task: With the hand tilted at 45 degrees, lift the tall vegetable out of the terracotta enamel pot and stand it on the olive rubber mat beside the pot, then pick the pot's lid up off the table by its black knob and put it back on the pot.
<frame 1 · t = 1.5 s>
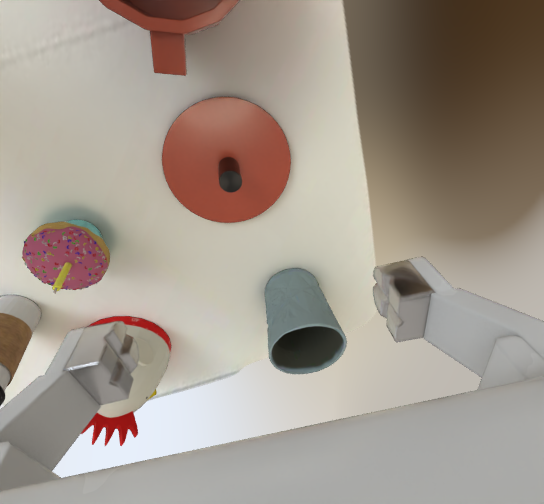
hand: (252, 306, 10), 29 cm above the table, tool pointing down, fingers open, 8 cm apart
cupcake: (82, 236, 39), on the table
coffee cup: (17, 309, 44), on the table
pot lid: (228, 165, 36), point 1 cm above the table
blue-grey cup: (289, 289, 50), on the table
kitchen timer: (127, 345, 51), on the table
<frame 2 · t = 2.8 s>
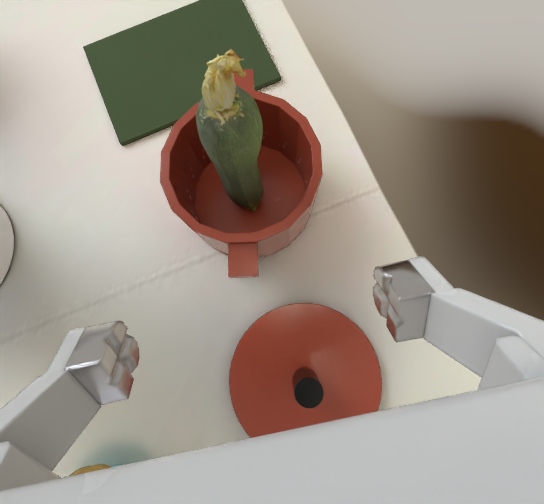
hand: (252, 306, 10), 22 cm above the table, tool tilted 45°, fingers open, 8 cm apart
mat: (181, 65, 37), on the table
vegetable: (250, 196, 34), resting on pot
pot lid: (304, 378, 30), point 1 cm above the table
pot: (250, 197, 34), on the table
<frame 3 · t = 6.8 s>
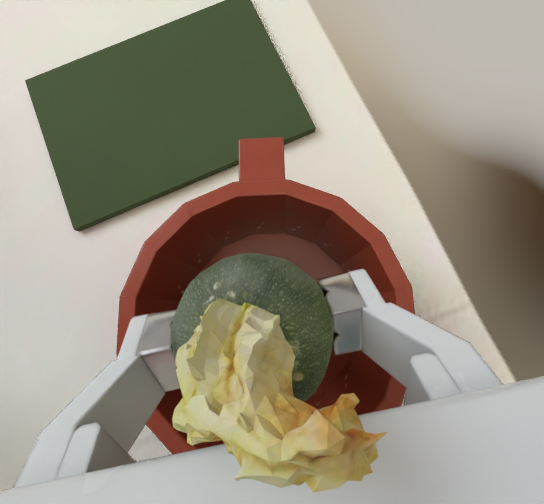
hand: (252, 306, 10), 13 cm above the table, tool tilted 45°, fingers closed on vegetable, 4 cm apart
mat: (168, 107, 26), on the table
vegetable: (271, 315, 22), resting on pot, touching gripper
pot: (271, 315, 22), on the table
when the fingers open (13 cm above the table, at t = 16.7 s): vegetable stays where it is, resting on mat.
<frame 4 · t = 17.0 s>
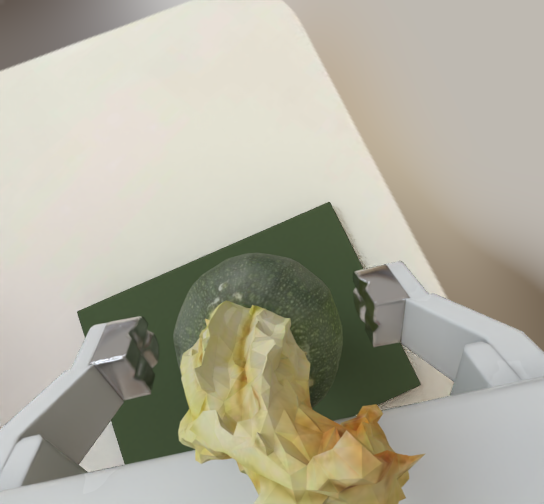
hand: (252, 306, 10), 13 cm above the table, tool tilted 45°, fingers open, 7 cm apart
mat: (243, 345, 22), on the table
vegetable: (273, 316, 22), resting on mat
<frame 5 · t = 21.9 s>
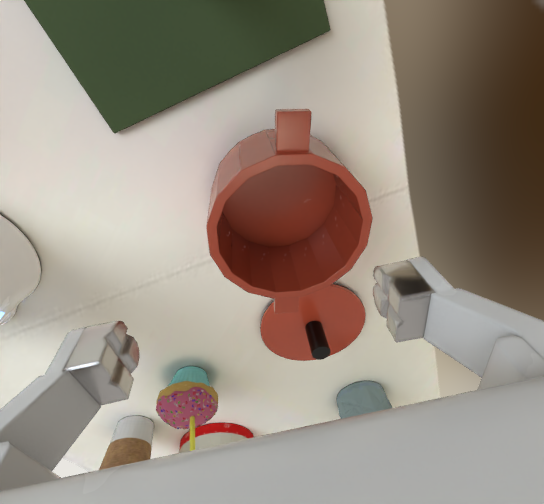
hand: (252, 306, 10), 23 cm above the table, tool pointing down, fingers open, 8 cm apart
cupcake: (191, 375, 48), on the table
coffee cup: (136, 423, 53), on the table
pot lid: (312, 323, 43), point 1 cm above the table
blue-grey cup: (358, 394, 56), on the table
kitchen timer: (217, 441, 60), on the table
pot: (278, 196, 33), on the table
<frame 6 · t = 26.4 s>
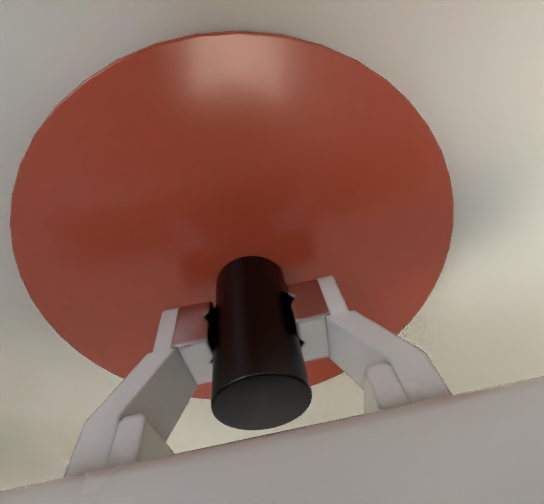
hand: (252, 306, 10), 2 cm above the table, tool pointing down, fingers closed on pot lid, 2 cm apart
pot lid: (249, 274, 11), point 1 cm above the table, touching gripper
when the fingers open (10 cm above the table, at t = 33.8 s): pot lid stays where it is, resting on pot.
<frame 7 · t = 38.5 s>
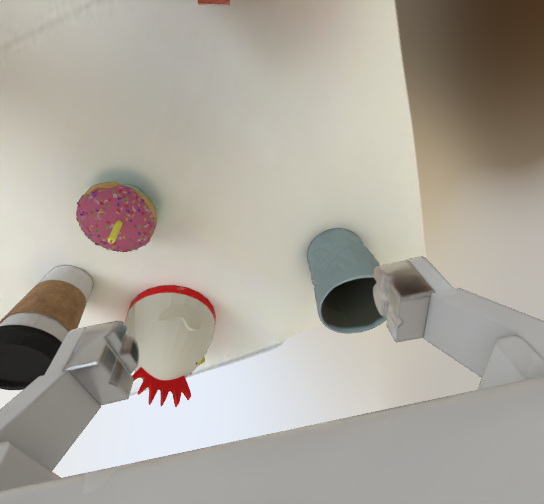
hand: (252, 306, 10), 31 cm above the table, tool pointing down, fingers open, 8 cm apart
cupcake: (128, 201, 40), on the table
coffee cup: (71, 280, 46), on the table
blue-grey cup: (332, 252, 48), on the table
kitchen timer: (173, 316, 52), on the table
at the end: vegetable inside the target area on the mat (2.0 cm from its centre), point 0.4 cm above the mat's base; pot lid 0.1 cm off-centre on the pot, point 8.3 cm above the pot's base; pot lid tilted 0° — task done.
